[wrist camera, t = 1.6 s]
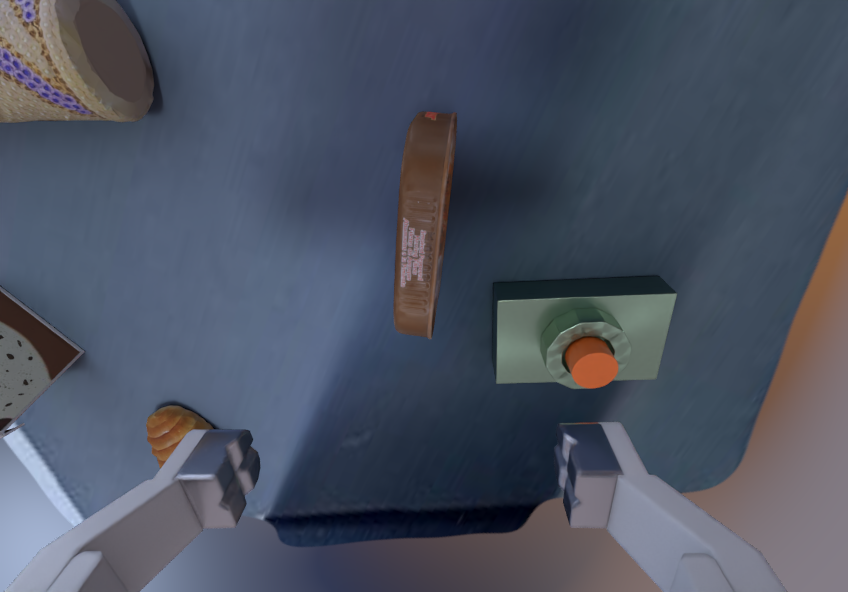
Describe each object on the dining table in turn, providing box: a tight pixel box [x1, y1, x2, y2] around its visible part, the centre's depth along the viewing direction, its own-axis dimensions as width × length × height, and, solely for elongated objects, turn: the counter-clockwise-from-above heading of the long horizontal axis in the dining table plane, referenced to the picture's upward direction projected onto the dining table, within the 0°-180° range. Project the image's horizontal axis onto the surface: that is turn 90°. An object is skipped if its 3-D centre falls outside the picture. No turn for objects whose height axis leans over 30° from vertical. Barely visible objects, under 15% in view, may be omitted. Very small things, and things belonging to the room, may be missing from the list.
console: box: [493, 276, 677, 389], centre depth 33 cm, size 8×13×5 cm, turn 94°
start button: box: [565, 337, 618, 388], centre depth 30 cm, size 3×3×2 cm
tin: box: [394, 112, 457, 339], centre depth 28 cm, size 15×3×8 cm, turn 175°
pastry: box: [146, 405, 213, 469], centre depth 42 cm, size 9×7×4 cm
